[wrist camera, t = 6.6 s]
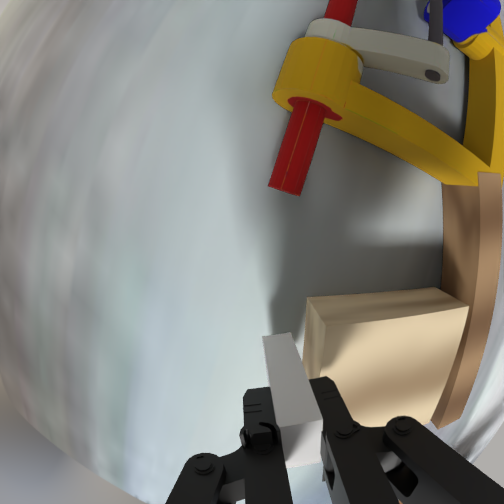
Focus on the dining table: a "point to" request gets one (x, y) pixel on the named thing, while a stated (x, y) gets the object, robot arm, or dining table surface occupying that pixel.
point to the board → (470, 279)
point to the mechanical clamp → (383, 109)
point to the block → (385, 350)
